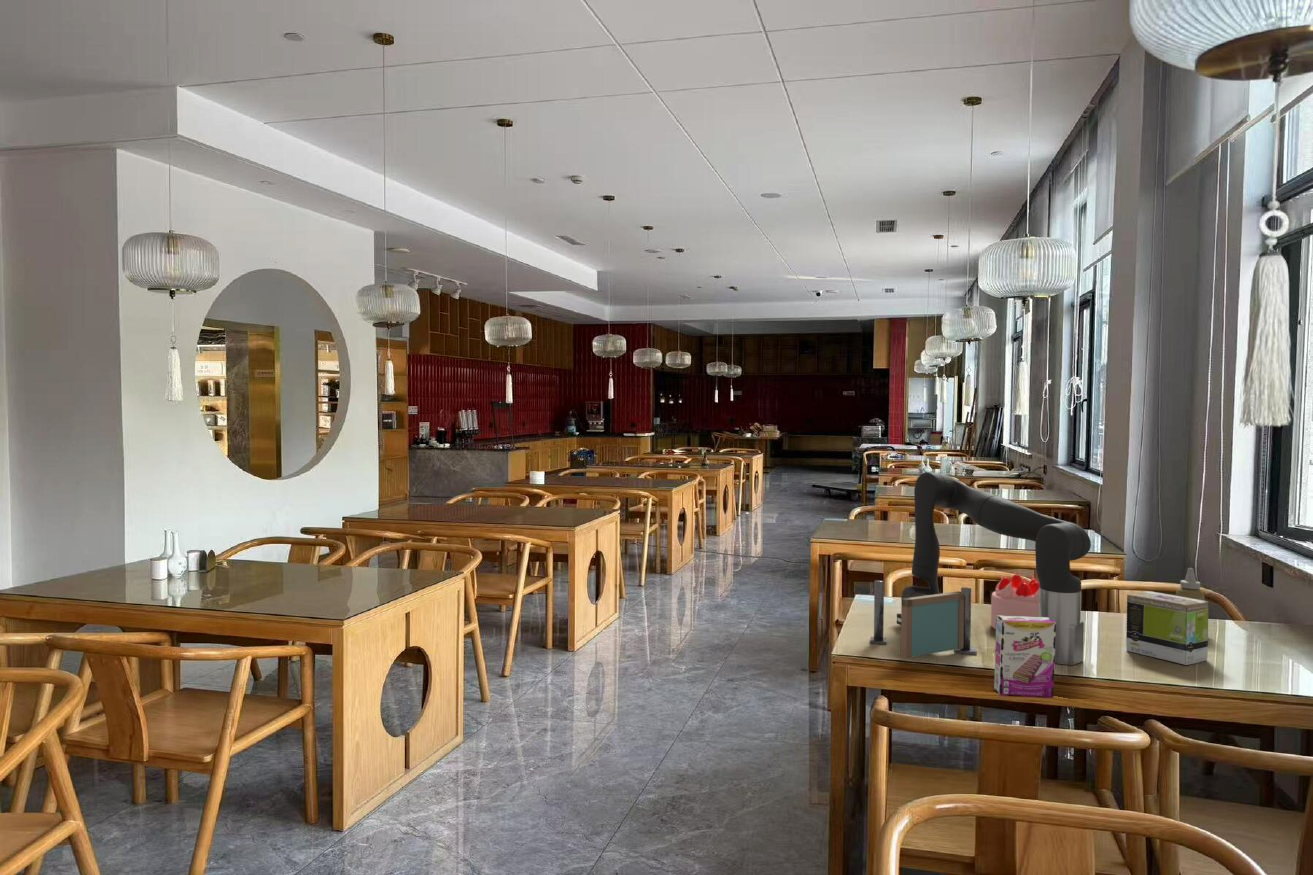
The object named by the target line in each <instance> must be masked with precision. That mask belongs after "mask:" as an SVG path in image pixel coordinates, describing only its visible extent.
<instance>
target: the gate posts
mask: <svg viewBox="0 0 1313 875" xmlns="http://www.w3.org/2000/svg"><path fill="white" fill-rule="evenodd" d="M873 585H874V586H873V587H874V592H873V593H874V598H873V599H874V600H873V604H874V605H873V606H874V607H873V636H870V640H869V641H870V642H869V643H871V645H885V646H887V637H884V620H885V619H884V616H885V615H884V611H885V610H884V606H885V604H884V602H885V581H884V580H879V579H878V580H874V584H873ZM960 592H963V593H964V647H963V649H955V650H954V653H955V654H960V655H969V656H970V655H972V656H977V653H978V652H977V648H976V646H975V645H973V646H972V645H971V638H972V637H971V634H972V633H971V629H972V628H971V627H972V624H971V623H972V588H971V587H967V586H964V587H961V588H960Z"/></svg>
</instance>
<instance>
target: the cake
mask: <svg viewBox="0 0 1313 875" xmlns="http://www.w3.org/2000/svg"><path fill="white" fill-rule="evenodd" d="M990 600H991V602H990V604H991V605H990V608H991V610H990V611H991V612H990V625H991V627H992V628H993V629H994V630H996V616H998V615H1000V616H1024V617H1039V581H1037V580H1036V578H1035V576H1034V575H1033V574H1032V575H1031V579H1030V581H1027V580H1025V579H1023V578H1022V576H1021V575H1020V574H1013V575H1012V576H1011V578H1009V577H1005V576H1004V577H1003V576H1002V575H1000V581H999V582H998V583H997V584H996V586H995V591H993V592H992V593H991V599H990Z"/></svg>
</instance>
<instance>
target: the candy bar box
mask: <svg viewBox="0 0 1313 875" xmlns="http://www.w3.org/2000/svg"><path fill="white" fill-rule="evenodd" d="M1055 636H1056V623H1055V622H1054V621H1053V620H1051V619H1050V618H1047V617H1024V616H1000V615H998V616H996V629H995V649H994V650H995V651H994V680H993V687H994V688H993V689H994V690H995V692H996V693H997V694H998V695H999V696H1000V697H1014V698H1015V697H1017V698H1018V697H1019V698H1043V699H1054V694H1055V693H1054V692H1055V691H1054V690H1055V684H1054V683H1055V667H1056V666H1055V665H1056V663H1055Z"/></svg>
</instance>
